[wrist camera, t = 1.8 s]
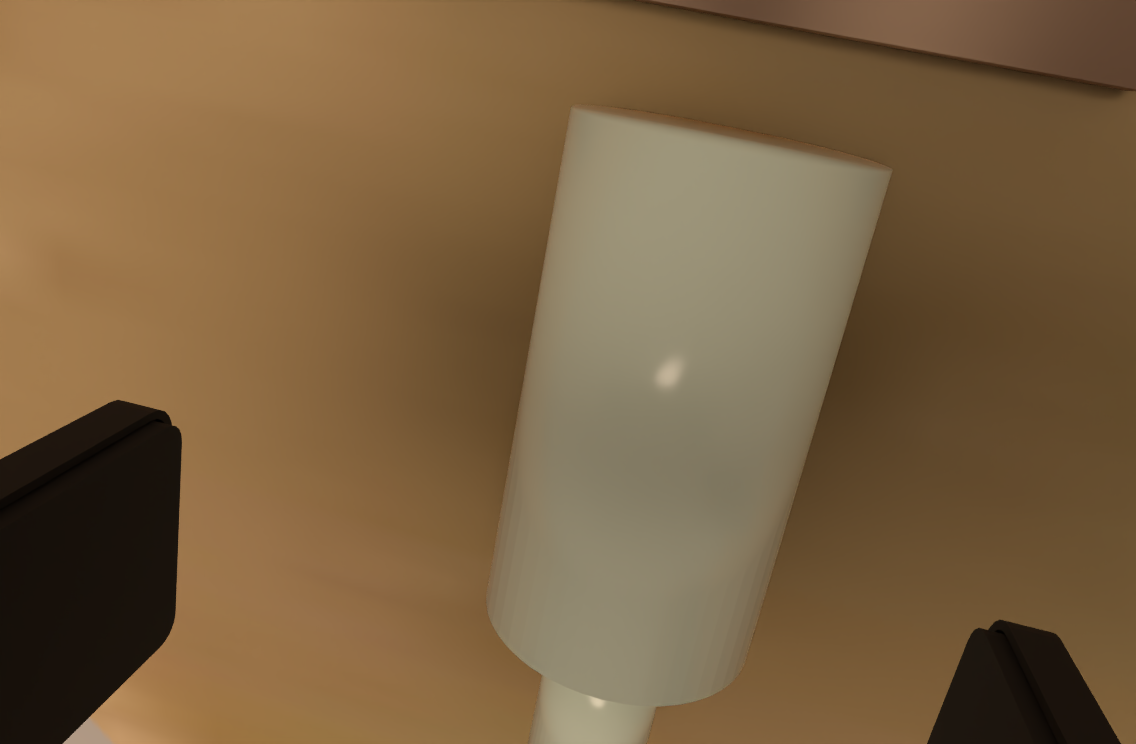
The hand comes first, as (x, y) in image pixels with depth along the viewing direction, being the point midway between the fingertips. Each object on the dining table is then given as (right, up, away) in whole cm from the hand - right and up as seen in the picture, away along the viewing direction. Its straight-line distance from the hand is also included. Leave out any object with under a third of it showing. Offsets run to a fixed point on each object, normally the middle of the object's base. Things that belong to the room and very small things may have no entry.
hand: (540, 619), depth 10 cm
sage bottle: (+2, +2, +10) cm, 11 cm away
